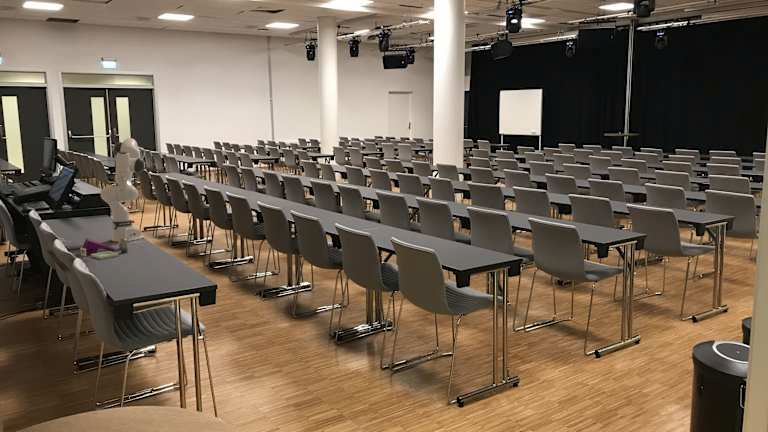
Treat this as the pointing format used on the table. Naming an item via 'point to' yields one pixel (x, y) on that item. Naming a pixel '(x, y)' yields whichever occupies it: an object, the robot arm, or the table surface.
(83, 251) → the label tile
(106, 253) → the parts tray
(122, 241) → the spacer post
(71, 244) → the table surface
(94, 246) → the mounting bracket
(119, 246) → the gold metallic cylinder
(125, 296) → the table surface
